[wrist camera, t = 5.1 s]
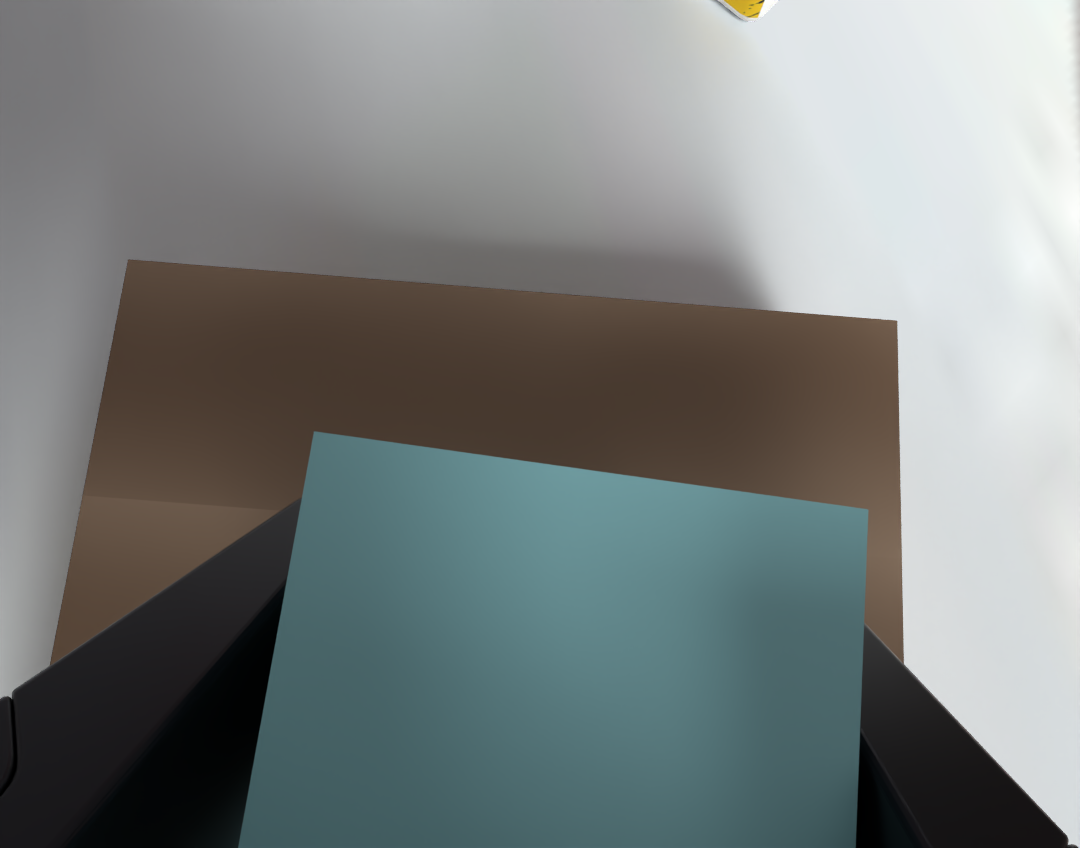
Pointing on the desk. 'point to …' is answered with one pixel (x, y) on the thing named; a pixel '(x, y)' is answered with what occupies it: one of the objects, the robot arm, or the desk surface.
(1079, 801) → the desk surface
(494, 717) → the plug
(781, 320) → the brown flat block
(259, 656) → the robot arm
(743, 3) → the medicine bottle
